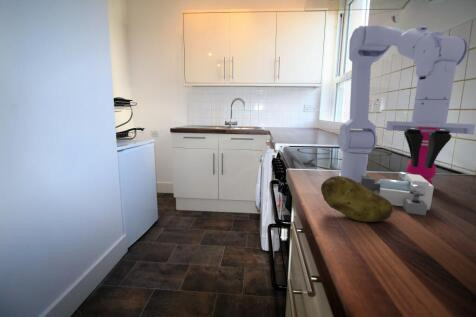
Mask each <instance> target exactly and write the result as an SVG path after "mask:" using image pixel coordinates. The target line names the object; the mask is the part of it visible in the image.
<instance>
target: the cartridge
mask: <svg viewBox="0 0 476 317" xmlns="http://www.w3.org/2000/svg"><path fill="white" fill-rule="evenodd" d="M378 182H379V183H378ZM359 184H360V185H362V186H364V187H365V188H368V189H369V190H371V191H373V192H374V191H376V190H378V194H379V192H380V188H386V189H394V190H403V191H409V190H410V184H411V182H408V181H400V180H398V179H387V178H379V180H378V181H376V180H375V177H373V176H368V175H366V176H361V181H360V183H359Z"/></svg>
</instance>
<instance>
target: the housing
mask: <svg viewBox="0 0 476 317" xmlns="http://www.w3.org/2000/svg"><path fill="white" fill-rule="evenodd" d="M405 181H408V182H411V184H420V185H424V186H426V191H425V196H419V201H418V203H414V202H413V197H414V195H413V194H410V193H409V191H403V190H394V189H386V188H380V192H379V195H381V196H383V197H384V198H386V199H387V200H388V201H389V202H390V203H391V205H392V206H397V207H402V208H403V209H404V211H405V213H406V214H413V215H418V216H426V215H427V211H431V205H432V199H433V196H434V195H433V193H434V189H435V187H434V185H433V184H432V185H431V184H430V183H429V182H428V181H427V180H425V179H424V178H423V177H422V176H420V175H414V174H405ZM377 182H378V183H379V181H377ZM374 192H375V193H377V194H378V190H375V191H374Z"/></svg>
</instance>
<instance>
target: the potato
mask: <svg viewBox="0 0 476 317" xmlns="http://www.w3.org/2000/svg"><path fill="white" fill-rule="evenodd" d="M320 190H321V195H322V197H323V200H324V202H325V203H326V204H327V205H328V207H330V208H332V209H334V210H335V211H338V212H339V213H341V214H343V215H344V216H345V217H347V218H349V219H351V220H354V221H358V222H365V223H377V222H381V221H385V220H388V219H389V218H390V217H391V215H392V213H393V205H391V203H390V202H389V201H388V200H387V199H386V198H384V197H383V196H381V195H379V194H377V193H375V192H376V191H374V190H373V191H371V190H369V189H368V188H365V187H364V186H362V185H360V183H358V182H356V181H355V180H353V179H350V178H347V177H342V176H339V175H334V176H330V177H329V178H327V179H326V180H324V181H323V182H322V183H321V187H320Z"/></svg>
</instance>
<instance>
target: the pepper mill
mask: <svg viewBox="0 0 476 317" xmlns="http://www.w3.org/2000/svg"><path fill="white" fill-rule="evenodd" d="M414 129H428V130H441V129H437V128H436V127H418V128H414ZM420 133H422V134H421V135H423V136H424V137H423V140H422V144H421V148H420V152H419V163H418V167H413V166H412V165H411V159H410V160H409V161H408V162H407V165H406V169H405V172H407V173H411V174H414V175H420V176H422V177H423V178H424V179H425V180H427V181H428V182H429V183H430V184H431V185H433V180H431V179H433V178H434V177H436V174H437V167H436V163H435V162H434V164H433V166H432V168H427V167H425V160H426V156H427V151H428V140H429V134H430V133H433V132H420Z"/></svg>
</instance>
